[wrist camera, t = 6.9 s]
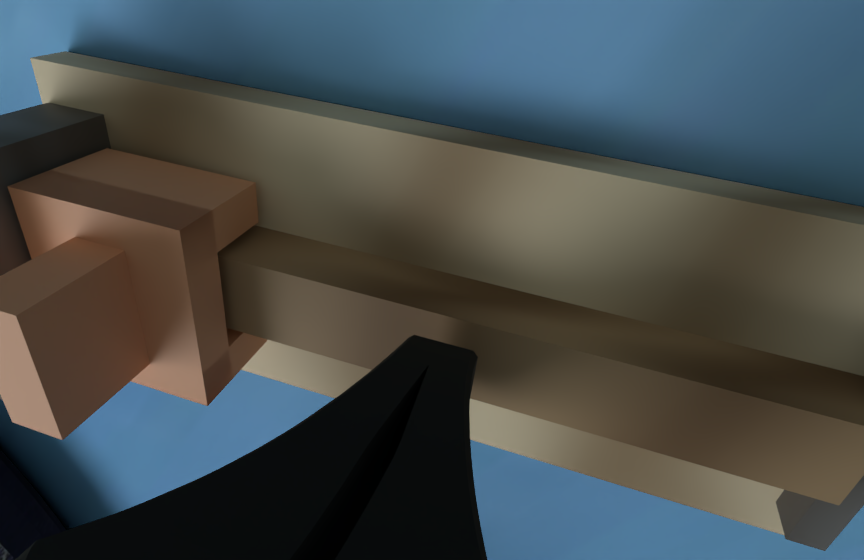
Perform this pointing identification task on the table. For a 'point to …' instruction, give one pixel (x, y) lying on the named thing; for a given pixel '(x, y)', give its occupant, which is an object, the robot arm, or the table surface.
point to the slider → (119, 287)
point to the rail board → (516, 283)
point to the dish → (22, 513)
